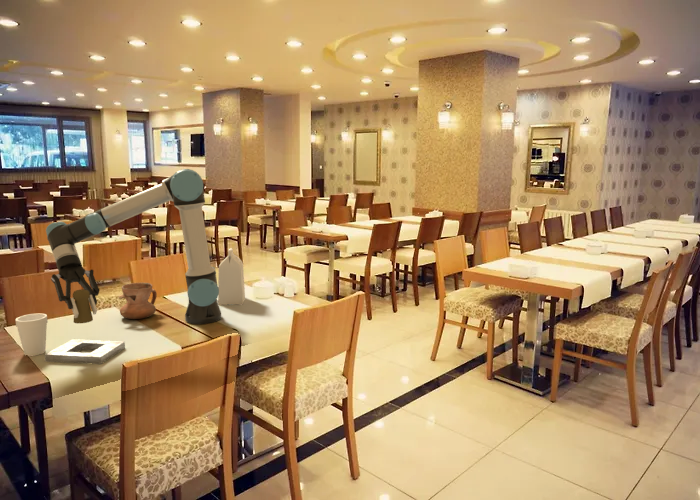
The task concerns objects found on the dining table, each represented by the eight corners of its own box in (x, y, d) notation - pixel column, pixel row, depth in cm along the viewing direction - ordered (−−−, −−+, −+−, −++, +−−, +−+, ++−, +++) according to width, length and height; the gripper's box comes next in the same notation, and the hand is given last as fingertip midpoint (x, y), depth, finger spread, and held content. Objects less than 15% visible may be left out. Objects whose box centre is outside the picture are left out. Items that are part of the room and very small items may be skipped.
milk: (221, 298, 251) (220, 247, 247) (245, 297, 252) (243, 247, 248) (218, 304, 239) (216, 251, 235) (242, 304, 241) (241, 251, 236)
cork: (84, 324, 171) (82, 292, 169) (69, 322, 172) (66, 291, 170) (96, 318, 177) (94, 288, 175) (82, 317, 178) (79, 287, 176)
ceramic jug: (130, 324, 209) (128, 291, 207) (110, 318, 217) (109, 286, 215) (167, 315, 224) (166, 284, 221) (147, 309, 232) (146, 279, 229)
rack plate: (125, 348, 183) (124, 341, 182) (101, 364, 168) (100, 357, 168) (73, 345, 185) (72, 339, 184) (45, 361, 170) (44, 354, 169)
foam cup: (28, 348, 182) (25, 313, 180) (55, 347, 183) (52, 313, 180) (13, 358, 172) (9, 321, 170) (41, 357, 173) (38, 321, 171)
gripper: (92, 262, 188) (111, 314, 180) (37, 269, 176) (54, 325, 167) (96, 250, 184) (116, 303, 175) (39, 256, 171) (58, 313, 162)
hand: (86, 313), depth 171 cm, fingers closed on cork, 5 cm apart
